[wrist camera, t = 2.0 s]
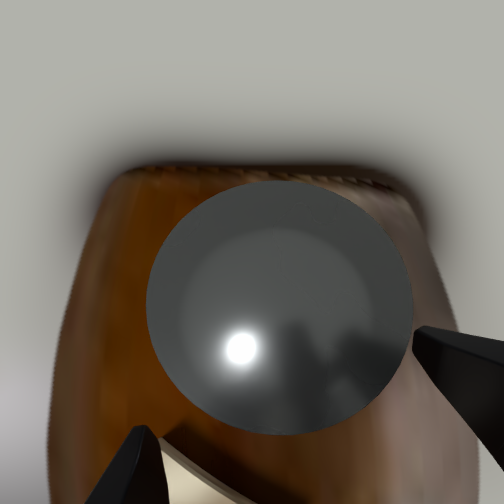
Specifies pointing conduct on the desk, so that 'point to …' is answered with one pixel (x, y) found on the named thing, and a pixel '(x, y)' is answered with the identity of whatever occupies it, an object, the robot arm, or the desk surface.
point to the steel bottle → (279, 307)
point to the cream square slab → (194, 481)
